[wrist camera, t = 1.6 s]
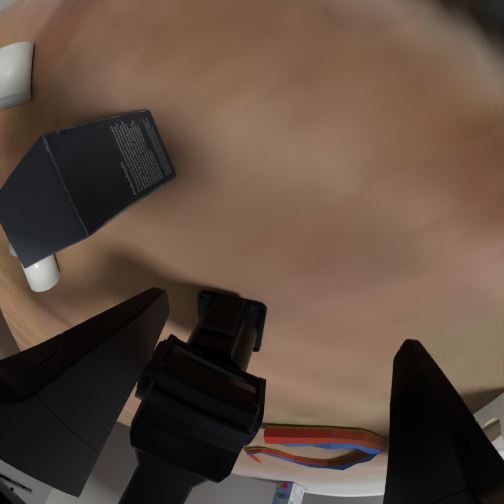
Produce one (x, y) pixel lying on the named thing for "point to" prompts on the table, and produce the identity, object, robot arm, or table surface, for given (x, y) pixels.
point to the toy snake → (322, 444)
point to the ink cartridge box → (288, 493)
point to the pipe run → (8, 95)
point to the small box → (81, 182)
